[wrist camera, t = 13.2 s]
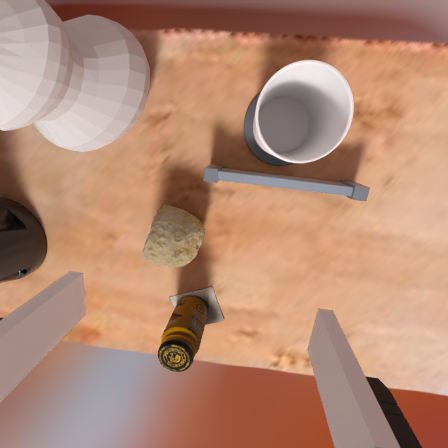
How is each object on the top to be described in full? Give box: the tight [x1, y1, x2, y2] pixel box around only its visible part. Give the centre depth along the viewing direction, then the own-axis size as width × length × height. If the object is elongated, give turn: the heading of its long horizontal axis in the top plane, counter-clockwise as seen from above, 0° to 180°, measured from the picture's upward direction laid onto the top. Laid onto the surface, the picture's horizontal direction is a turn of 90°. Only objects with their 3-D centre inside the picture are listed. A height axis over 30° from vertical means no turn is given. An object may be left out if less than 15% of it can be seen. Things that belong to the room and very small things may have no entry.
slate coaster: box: [244, 94, 292, 165], centre depth 38 cm, size 11×11×1 cm
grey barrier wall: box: [203, 165, 370, 201], centre depth 37 cm, size 22×2×6 cm, turn 84°
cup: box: [253, 60, 354, 163], centre depth 30 cm, size 8×8×16 cm
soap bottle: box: [0, 0, 150, 152], centre depth 25 cm, size 17×12×29 cm
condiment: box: [158, 287, 224, 372], centre depth 43 cm, size 7×8×12 cm
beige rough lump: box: [142, 204, 205, 267], centre depth 40 cm, size 10×10×10 cm
